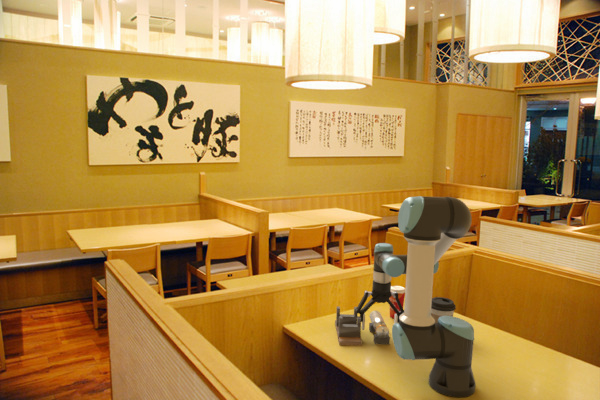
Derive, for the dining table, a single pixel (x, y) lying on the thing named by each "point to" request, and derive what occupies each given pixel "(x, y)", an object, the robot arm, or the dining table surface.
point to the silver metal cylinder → (379, 324)
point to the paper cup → (401, 295)
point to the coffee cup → (442, 307)
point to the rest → (376, 338)
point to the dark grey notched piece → (348, 328)
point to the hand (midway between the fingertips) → (379, 329)
